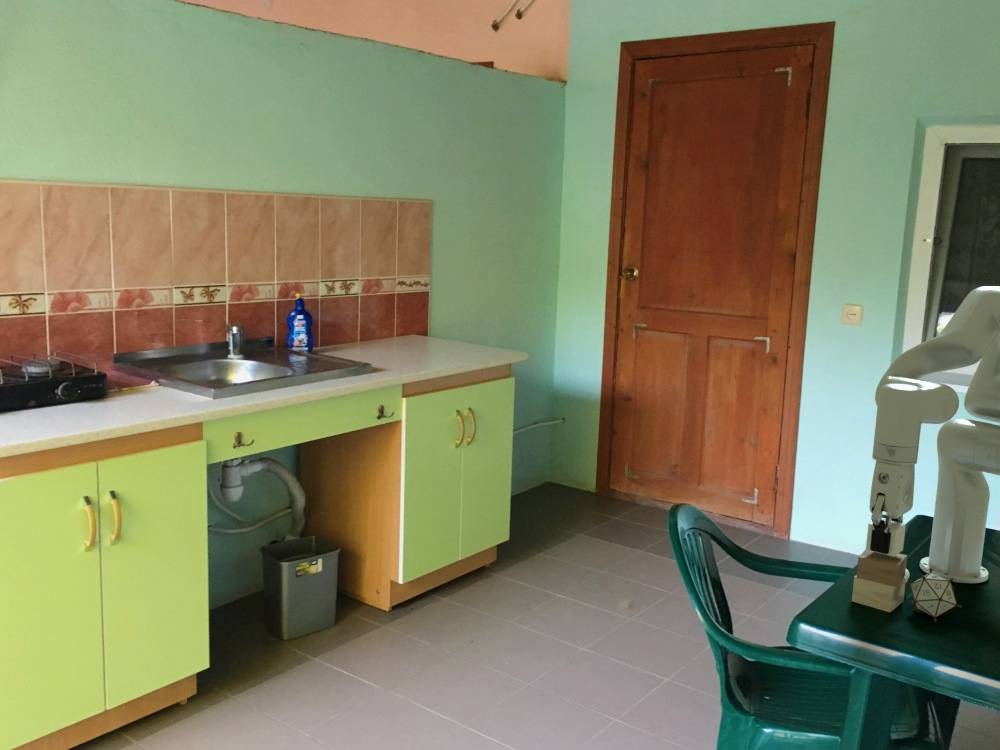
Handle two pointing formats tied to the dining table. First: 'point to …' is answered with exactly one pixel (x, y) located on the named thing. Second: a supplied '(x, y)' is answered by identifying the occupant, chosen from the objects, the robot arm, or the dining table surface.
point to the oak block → (878, 594)
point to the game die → (933, 594)
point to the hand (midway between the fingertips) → (885, 547)
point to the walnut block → (881, 567)
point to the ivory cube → (896, 537)
